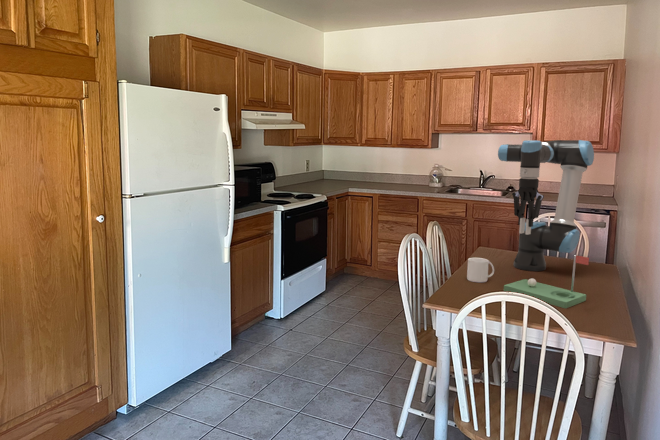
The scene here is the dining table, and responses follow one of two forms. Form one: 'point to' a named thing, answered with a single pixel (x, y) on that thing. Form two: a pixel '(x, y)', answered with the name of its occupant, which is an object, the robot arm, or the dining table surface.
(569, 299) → the green
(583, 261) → the flag pin
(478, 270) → the mug
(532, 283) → the ball
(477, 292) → the dining table surface
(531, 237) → the robot arm
